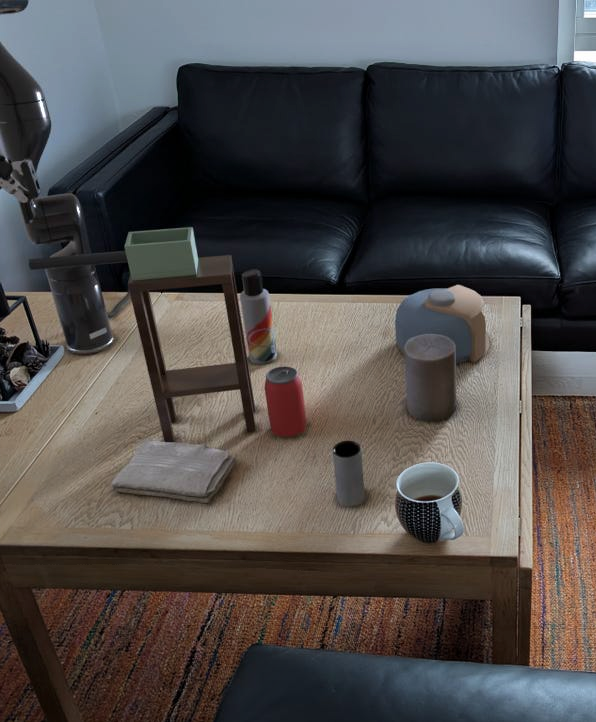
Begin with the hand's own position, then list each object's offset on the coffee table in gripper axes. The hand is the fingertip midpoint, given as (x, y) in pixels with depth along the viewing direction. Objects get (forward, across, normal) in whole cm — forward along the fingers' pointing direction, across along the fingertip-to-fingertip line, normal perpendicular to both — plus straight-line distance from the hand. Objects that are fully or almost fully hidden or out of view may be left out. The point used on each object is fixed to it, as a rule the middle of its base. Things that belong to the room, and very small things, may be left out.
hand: (1, 224), depth 137 cm
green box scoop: (+6, -18, +11) cm, 22 cm away
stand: (+38, -28, +10) cm, 48 cm away
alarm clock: (+38, -76, -9) cm, 86 cm away
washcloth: (+38, -23, +25) cm, 51 cm away
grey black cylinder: (+38, -51, +37) cm, 74 cm away
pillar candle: (+38, -69, +14) cm, 80 cm away
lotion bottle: (+38, -38, -12) cm, 55 cm away
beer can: (+38, -42, +15) cm, 59 cm away
